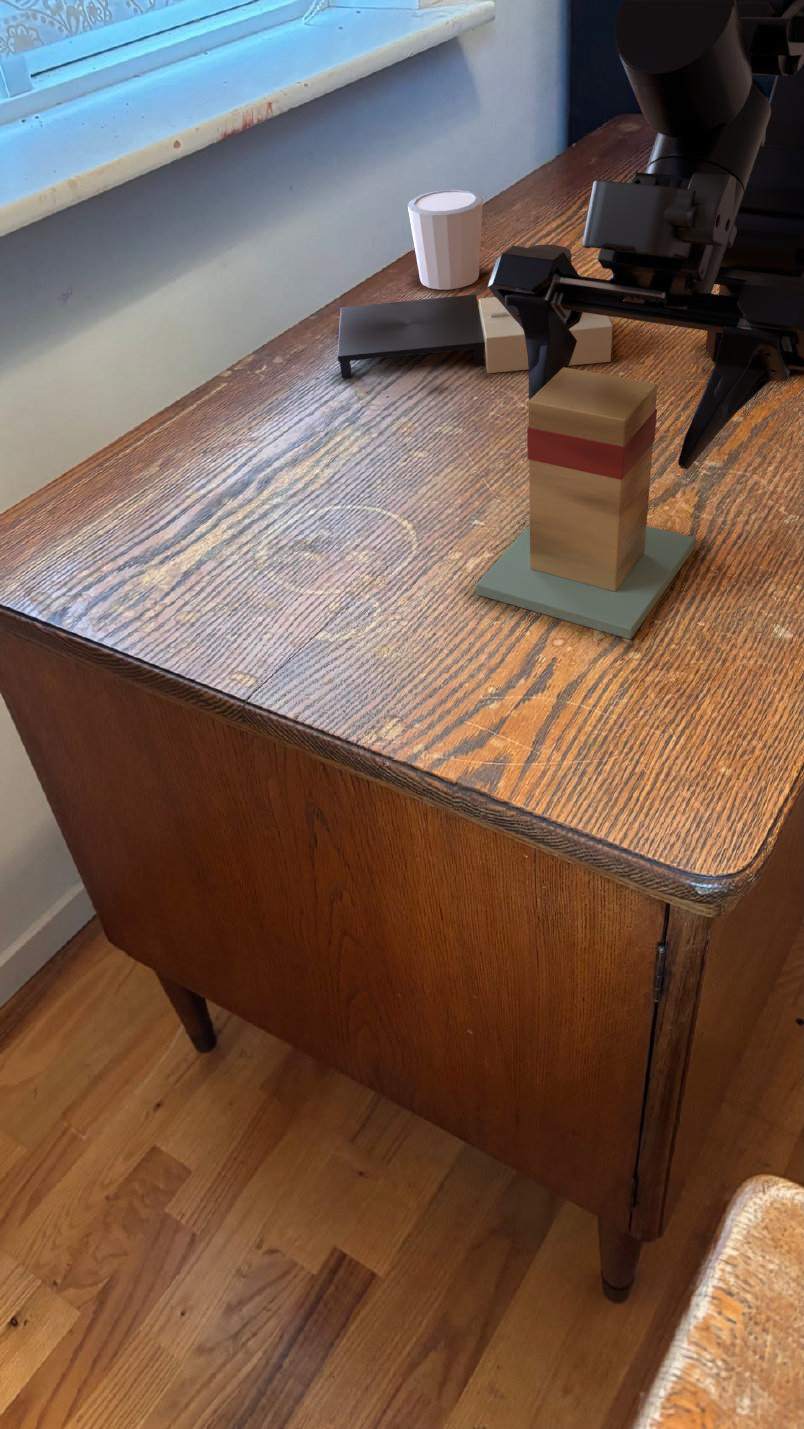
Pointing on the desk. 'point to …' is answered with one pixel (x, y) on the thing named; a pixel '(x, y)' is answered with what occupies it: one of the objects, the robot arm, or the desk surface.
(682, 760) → the desk surface
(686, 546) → the mat
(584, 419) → the block
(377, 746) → the desk surface
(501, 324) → the panel
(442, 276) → the white cup
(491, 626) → the desk surface
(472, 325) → the black low stand
